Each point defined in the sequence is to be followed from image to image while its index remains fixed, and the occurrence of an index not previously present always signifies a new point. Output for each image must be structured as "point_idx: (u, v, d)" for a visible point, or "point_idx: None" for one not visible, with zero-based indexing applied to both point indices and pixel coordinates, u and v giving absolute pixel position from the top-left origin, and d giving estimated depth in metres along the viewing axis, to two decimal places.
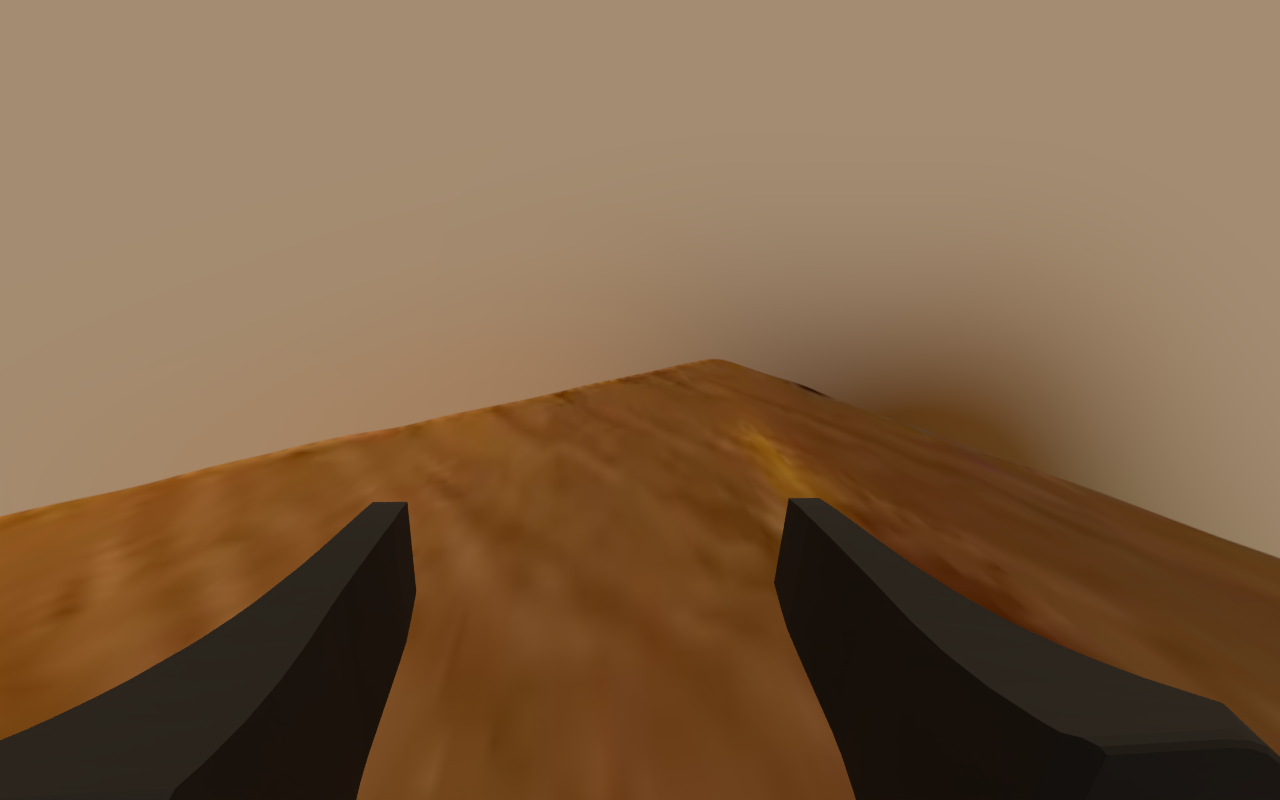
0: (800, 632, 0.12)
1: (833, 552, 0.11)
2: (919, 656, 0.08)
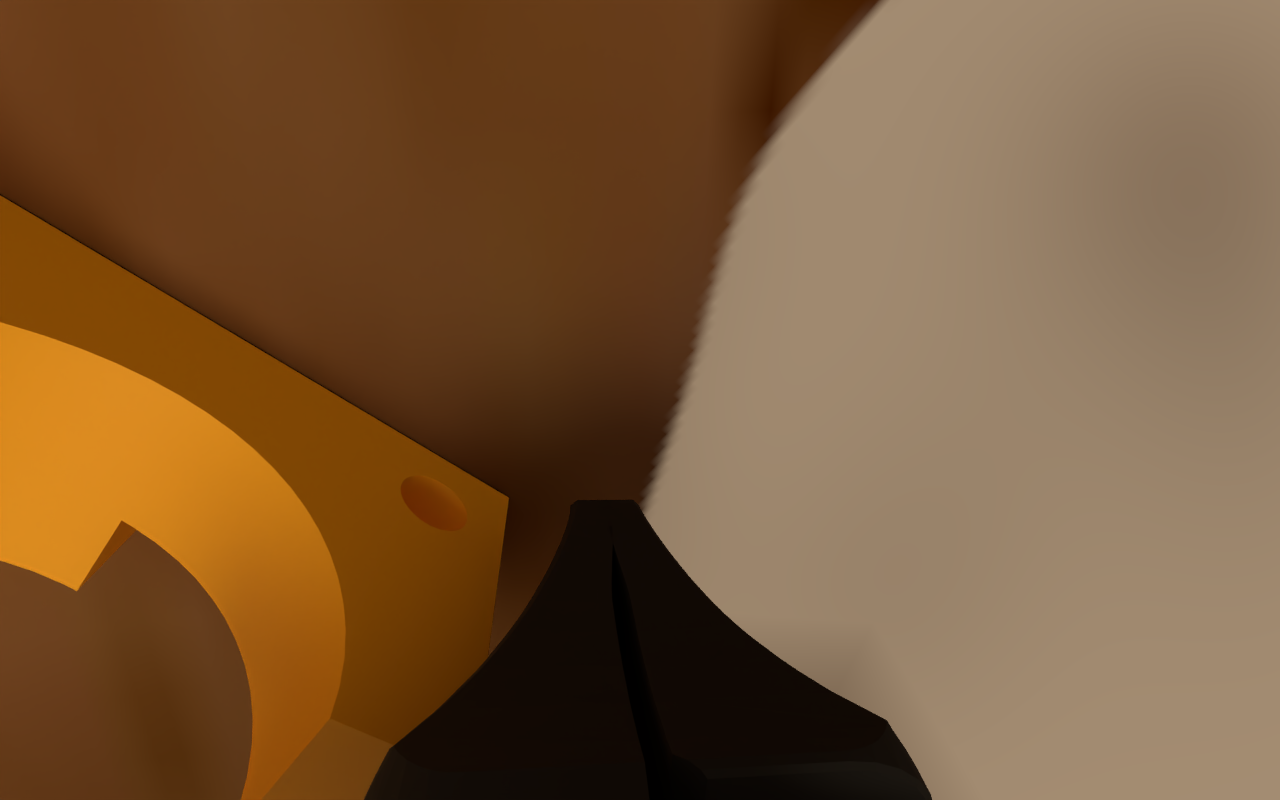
0: None
1: (613, 556, 0.10)
2: (639, 667, 0.08)
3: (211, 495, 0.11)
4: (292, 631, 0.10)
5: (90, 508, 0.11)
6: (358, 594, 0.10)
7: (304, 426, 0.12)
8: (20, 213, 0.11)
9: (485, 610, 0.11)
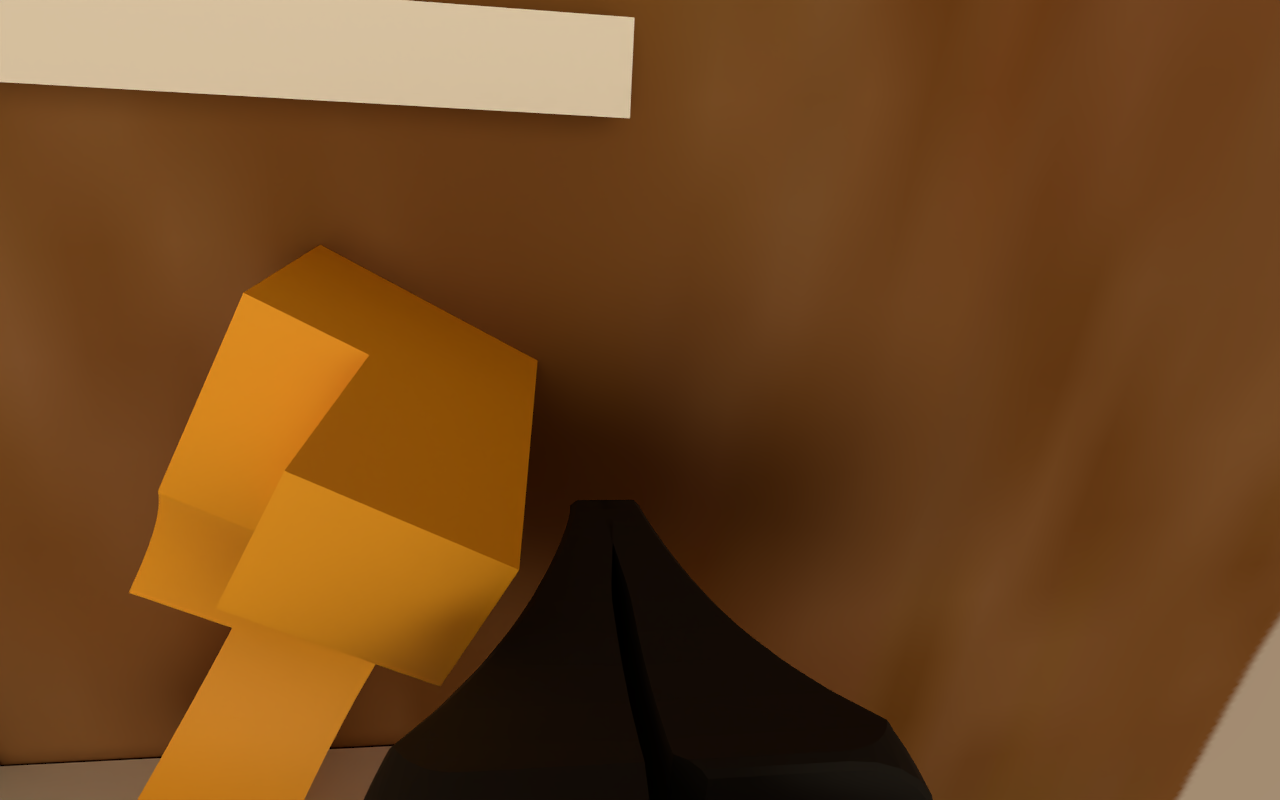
0: None
1: (613, 556, 0.10)
2: (640, 667, 0.08)
3: (286, 696, 0.13)
4: None
5: None
6: None
7: None
8: None
9: None
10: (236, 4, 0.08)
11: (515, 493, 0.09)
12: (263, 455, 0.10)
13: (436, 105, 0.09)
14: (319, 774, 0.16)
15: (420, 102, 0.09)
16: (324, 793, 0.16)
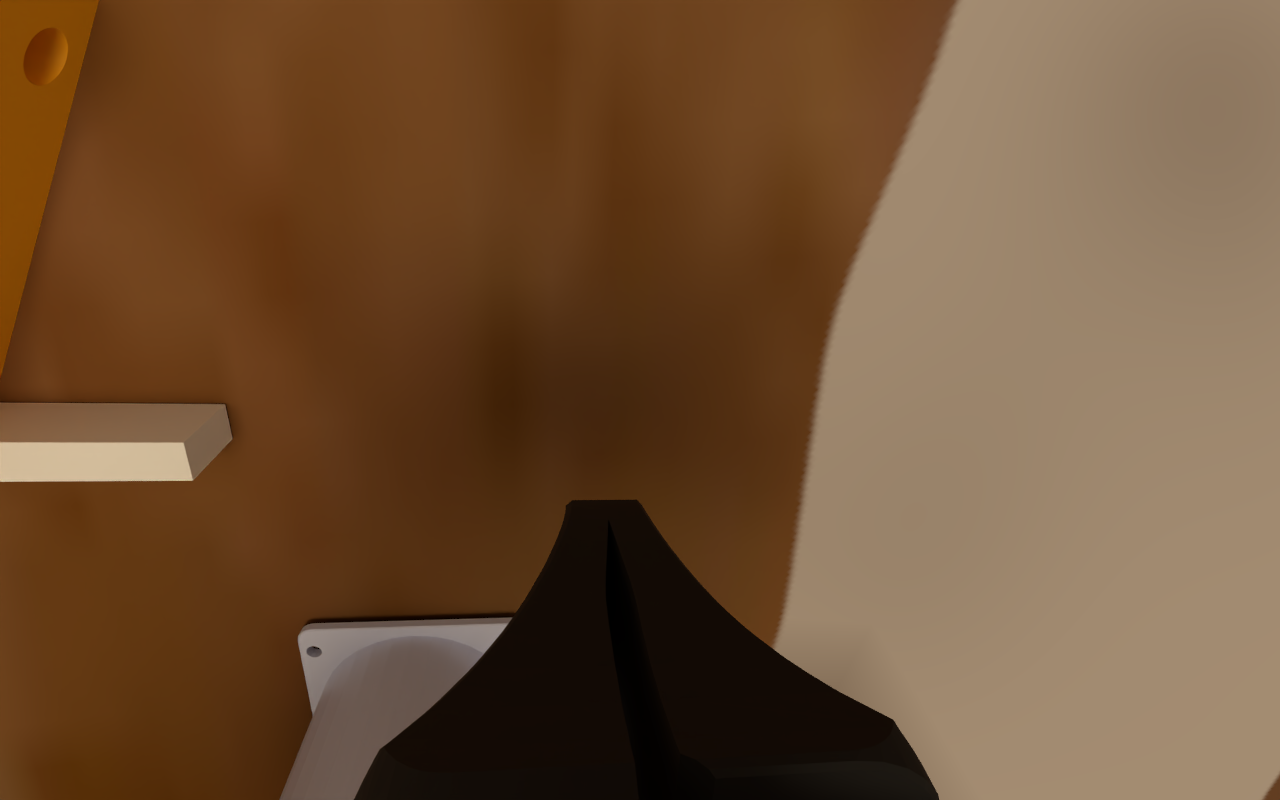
0: None
1: (618, 556, 0.10)
2: (644, 667, 0.08)
3: None
4: None
5: None
6: None
7: None
8: (72, 97, 0.17)
9: None
10: None
11: None
12: None
13: None
14: None
15: None
16: None
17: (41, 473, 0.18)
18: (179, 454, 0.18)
